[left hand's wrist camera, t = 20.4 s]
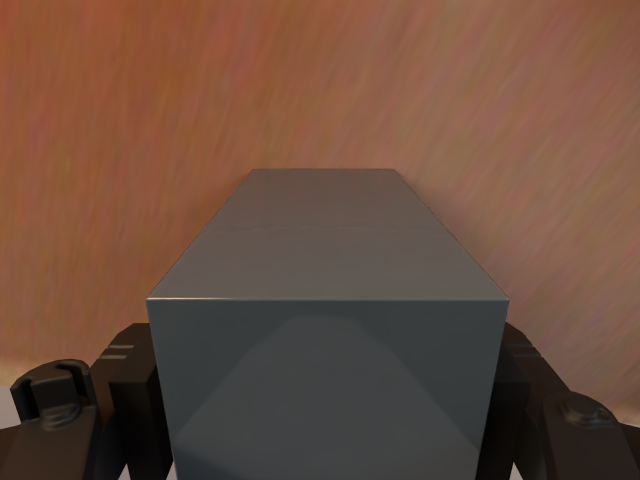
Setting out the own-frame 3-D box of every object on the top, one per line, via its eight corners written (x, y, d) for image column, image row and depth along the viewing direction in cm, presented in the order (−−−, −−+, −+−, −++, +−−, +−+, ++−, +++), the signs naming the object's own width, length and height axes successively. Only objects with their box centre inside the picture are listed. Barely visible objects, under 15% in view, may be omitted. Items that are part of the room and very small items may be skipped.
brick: (260, 316, 20) (193, 577, 9) (252, 168, 17) (143, 298, 7) (384, 316, 20) (457, 578, 9) (394, 168, 17) (511, 298, 7)
